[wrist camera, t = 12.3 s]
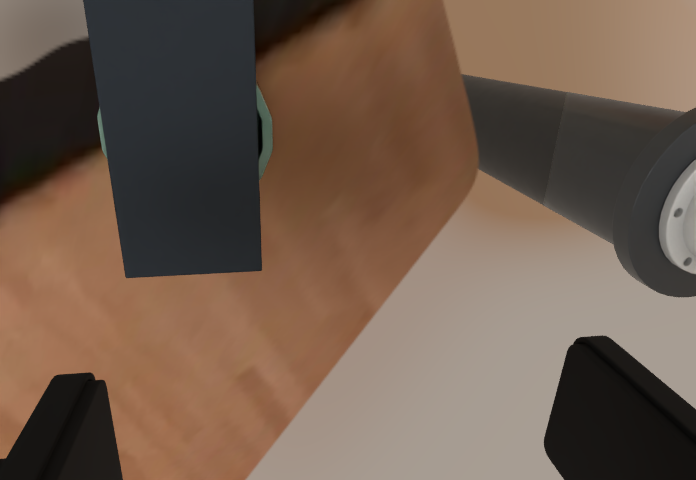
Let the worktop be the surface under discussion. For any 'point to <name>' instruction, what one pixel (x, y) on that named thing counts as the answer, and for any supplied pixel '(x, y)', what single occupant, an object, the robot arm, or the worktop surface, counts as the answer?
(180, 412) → the worktop surface
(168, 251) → the dark blue flat block
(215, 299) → the worktop surface
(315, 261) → the worktop surface
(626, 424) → the robot arm
